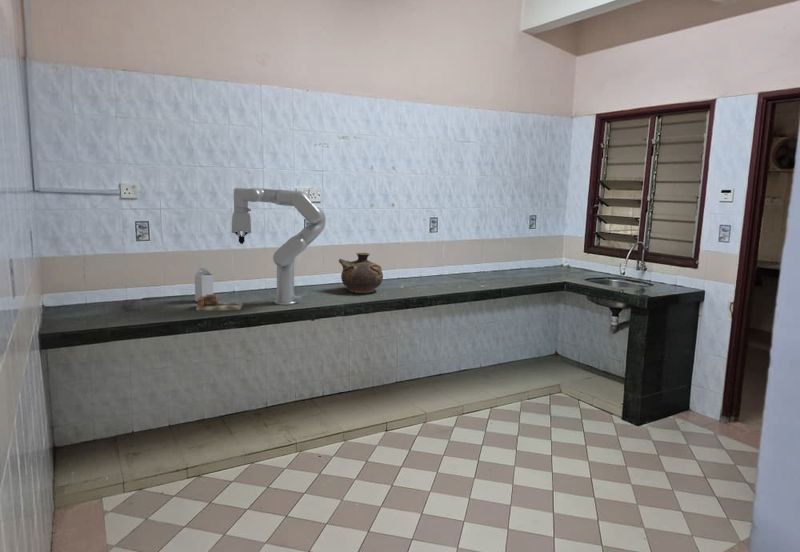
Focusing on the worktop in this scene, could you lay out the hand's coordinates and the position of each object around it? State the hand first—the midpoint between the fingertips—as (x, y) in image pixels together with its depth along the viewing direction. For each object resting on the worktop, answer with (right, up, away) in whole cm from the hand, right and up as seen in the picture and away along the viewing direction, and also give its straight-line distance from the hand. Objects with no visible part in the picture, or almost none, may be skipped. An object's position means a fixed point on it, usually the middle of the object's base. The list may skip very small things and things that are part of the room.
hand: (241, 243), depth 302 cm
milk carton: (-22, -33, +3) cm, 39 cm away
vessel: (+64, -28, +47) cm, 84 cm away
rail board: (-8, -35, -12) cm, 38 cm away
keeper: (-12, -33, -13) cm, 38 cm away
